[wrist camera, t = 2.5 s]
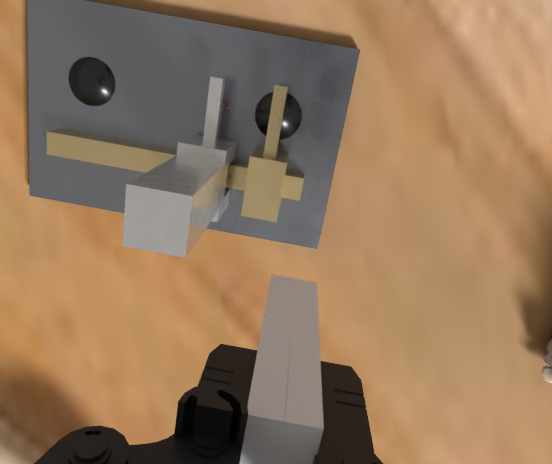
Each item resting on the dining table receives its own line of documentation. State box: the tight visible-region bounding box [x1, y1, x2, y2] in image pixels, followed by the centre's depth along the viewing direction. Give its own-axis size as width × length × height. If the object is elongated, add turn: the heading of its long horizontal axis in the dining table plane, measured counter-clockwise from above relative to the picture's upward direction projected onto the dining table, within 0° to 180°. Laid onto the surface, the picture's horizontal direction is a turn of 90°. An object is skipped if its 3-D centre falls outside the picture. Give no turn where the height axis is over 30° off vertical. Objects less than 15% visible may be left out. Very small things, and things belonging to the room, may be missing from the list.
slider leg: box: [122, 77, 237, 258], centre depth 26 cm, size 9×3×12 cm, turn 170°
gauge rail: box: [47, 85, 304, 222], centre depth 30 cm, size 8×18×3 cm, turn 81°
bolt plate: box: [27, 0, 360, 249], centre depth 32 cm, size 14×22×1 cm, turn 80°
